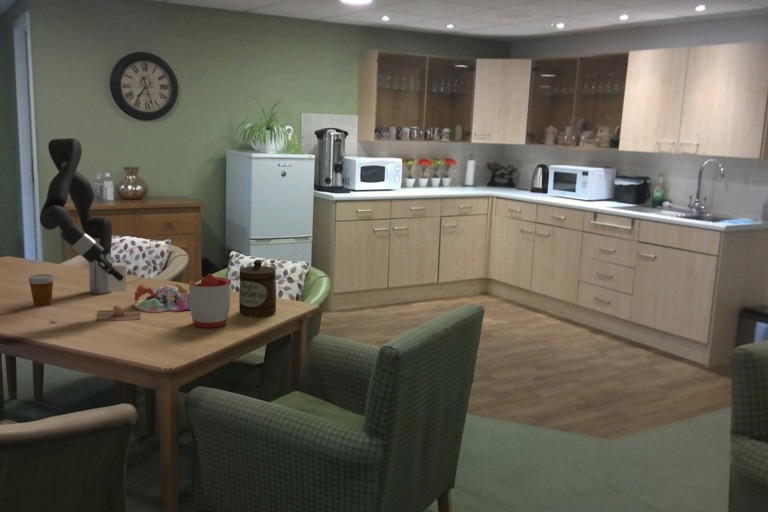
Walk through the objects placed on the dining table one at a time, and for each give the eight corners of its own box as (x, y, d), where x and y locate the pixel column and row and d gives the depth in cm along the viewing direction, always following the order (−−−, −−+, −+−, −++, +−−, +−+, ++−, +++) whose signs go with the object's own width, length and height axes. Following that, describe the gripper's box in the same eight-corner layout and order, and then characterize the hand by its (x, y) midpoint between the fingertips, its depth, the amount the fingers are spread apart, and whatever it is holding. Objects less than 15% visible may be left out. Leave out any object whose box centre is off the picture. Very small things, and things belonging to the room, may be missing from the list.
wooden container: (232, 314, 285) (232, 261, 281) (251, 306, 299) (252, 255, 295) (263, 319, 280) (264, 265, 276) (282, 310, 294) (283, 259, 290)
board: (97, 312, 280) (97, 310, 280) (140, 310, 285) (140, 309, 285) (95, 323, 265) (95, 322, 265) (140, 321, 270) (140, 319, 270)
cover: (109, 288, 275) (108, 262, 273) (126, 287, 277) (125, 262, 275) (108, 291, 269) (108, 266, 267) (126, 291, 271) (125, 265, 269)
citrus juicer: (206, 315, 282) (206, 266, 278) (239, 323, 273) (239, 273, 269) (176, 324, 269) (176, 273, 265) (210, 332, 260) (210, 279, 256)
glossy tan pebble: (119, 313, 278) (118, 304, 277) (126, 315, 276) (126, 306, 275) (111, 315, 274) (110, 306, 273) (118, 317, 272) (118, 308, 272)
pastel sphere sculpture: (174, 296, 309) (174, 275, 308) (210, 306, 296) (210, 285, 294) (124, 305, 289) (124, 283, 287) (160, 316, 276) (160, 293, 274)
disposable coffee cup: (45, 309, 281) (43, 279, 279) (24, 307, 283) (22, 278, 281) (60, 303, 290) (59, 275, 288) (40, 301, 292) (38, 273, 290)
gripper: (94, 244, 260) (129, 274, 266) (96, 237, 274) (129, 266, 280) (79, 258, 260) (114, 288, 266) (82, 251, 273) (115, 280, 279)
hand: (122, 277), depth 273 cm, fingers closed on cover, 6 cm apart
